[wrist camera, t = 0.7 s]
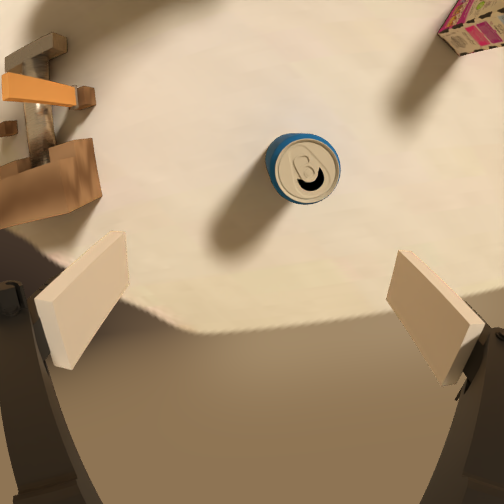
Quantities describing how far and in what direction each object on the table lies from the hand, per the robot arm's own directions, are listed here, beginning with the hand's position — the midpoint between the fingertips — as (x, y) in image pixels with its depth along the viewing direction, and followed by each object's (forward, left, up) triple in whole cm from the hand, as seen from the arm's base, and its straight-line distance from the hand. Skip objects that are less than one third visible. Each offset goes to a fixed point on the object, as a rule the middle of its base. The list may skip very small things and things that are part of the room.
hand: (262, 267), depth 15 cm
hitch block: (-9, -27, -26) cm, 39 cm away
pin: (-15, -28, -26) cm, 41 cm away
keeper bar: (-15, -20, -15) cm, 29 cm away
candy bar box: (-22, +32, -26) cm, 47 cm away
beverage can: (-2, +4, -26) cm, 27 cm away
